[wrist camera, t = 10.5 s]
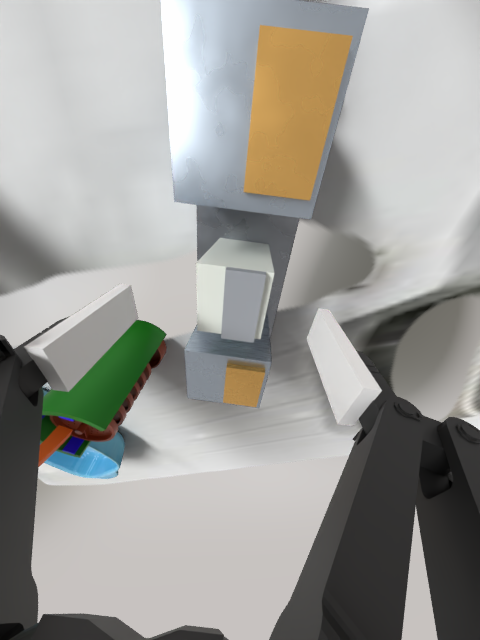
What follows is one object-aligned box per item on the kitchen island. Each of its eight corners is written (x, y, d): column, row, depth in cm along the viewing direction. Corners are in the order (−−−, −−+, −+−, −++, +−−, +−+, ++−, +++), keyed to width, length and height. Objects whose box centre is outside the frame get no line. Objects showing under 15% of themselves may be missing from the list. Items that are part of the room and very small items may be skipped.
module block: (217, 286, 25) (195, 334, 16) (220, 237, 22) (193, 265, 13) (259, 292, 25) (260, 343, 16) (268, 244, 22) (274, 276, 13)
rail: (200, 351, 33) (178, 408, 24) (198, 64, 16) (120, -108, 7) (263, 359, 33) (265, 420, 24) (330, 80, 16) (424, -75, 7)
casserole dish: (-20, 395, 48) (-60, 424, 42) (8, 359, 40) (-37, 388, 34) (108, 457, 62) (92, 485, 56) (150, 440, 54) (136, 471, 48)
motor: (159, 369, 37) (76, 513, 20) (112, 352, 35) (-20, 491, 19) (173, 332, 32) (75, 484, 15) (118, 309, 30) (-59, 451, 13)
